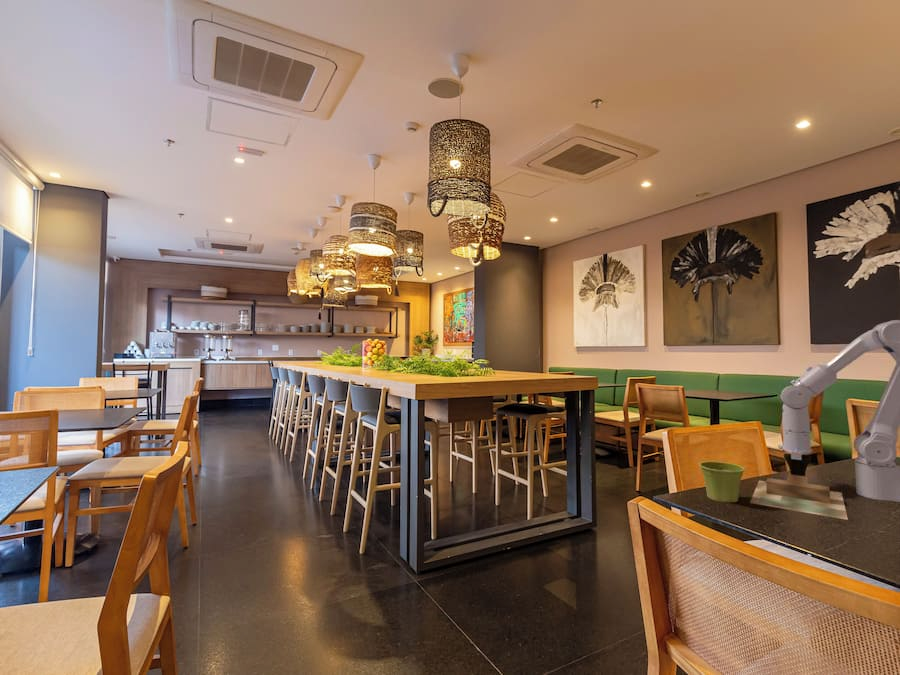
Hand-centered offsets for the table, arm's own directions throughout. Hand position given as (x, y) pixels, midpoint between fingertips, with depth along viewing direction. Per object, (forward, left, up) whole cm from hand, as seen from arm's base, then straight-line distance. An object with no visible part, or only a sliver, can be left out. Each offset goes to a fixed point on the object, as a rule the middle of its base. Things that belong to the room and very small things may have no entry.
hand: (798, 482), depth 116 cm
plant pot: (+14, +25, -2) cm, 28 cm away
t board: (0, +13, -2) cm, 13 cm away
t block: (0, +9, -1) cm, 9 cm away
